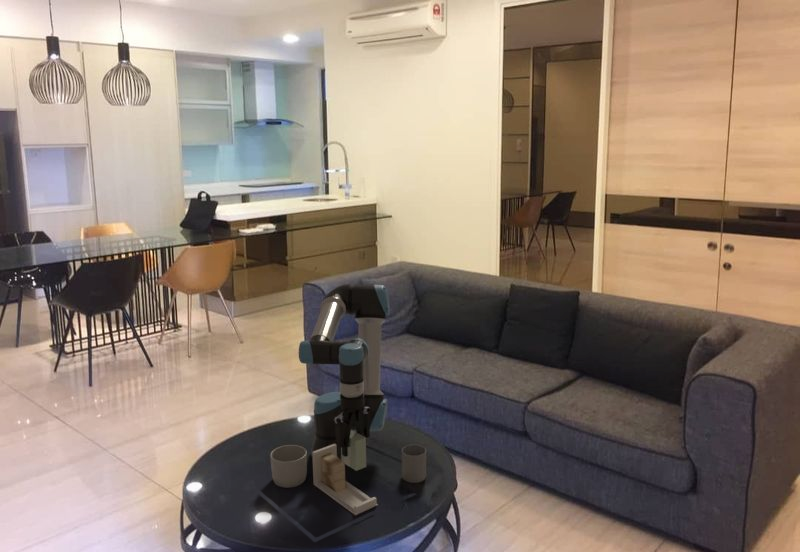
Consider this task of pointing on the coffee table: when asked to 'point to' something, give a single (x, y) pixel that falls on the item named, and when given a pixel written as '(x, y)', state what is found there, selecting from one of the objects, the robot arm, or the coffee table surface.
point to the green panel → (357, 451)
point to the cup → (413, 463)
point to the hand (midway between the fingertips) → (353, 461)
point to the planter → (289, 465)
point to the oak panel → (333, 472)
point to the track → (348, 496)
